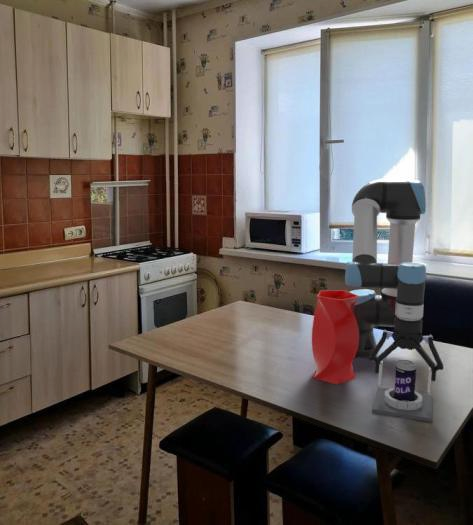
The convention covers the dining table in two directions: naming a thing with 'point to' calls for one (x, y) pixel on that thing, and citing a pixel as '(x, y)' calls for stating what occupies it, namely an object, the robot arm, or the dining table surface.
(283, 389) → the dining table surface
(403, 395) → the beverage can
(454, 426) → the dining table surface
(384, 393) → the ring seat
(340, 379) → the vase
